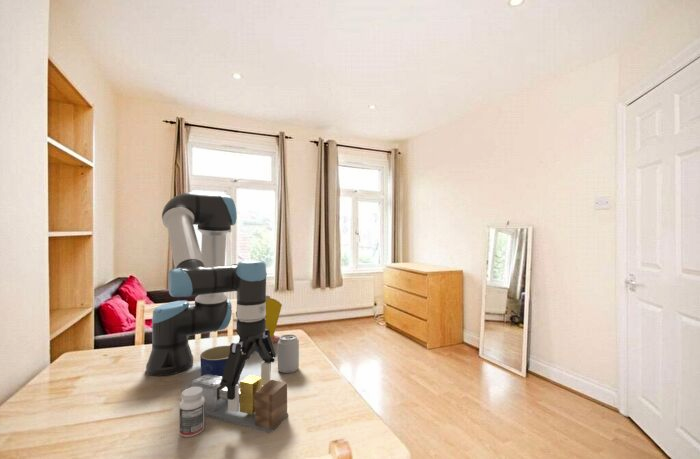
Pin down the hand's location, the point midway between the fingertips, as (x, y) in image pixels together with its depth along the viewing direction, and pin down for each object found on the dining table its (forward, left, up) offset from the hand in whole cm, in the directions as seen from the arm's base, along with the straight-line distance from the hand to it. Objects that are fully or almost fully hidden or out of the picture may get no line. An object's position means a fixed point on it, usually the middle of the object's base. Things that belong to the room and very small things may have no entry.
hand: (250, 397), depth 85 cm
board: (-4, 0, -5) cm, 7 cm away
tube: (-4, 0, -3) cm, 5 cm away
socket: (+7, 0, -5) cm, 9 cm away
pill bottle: (-10, -10, -5) cm, 15 cm away
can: (-6, +29, -5) cm, 30 cm away
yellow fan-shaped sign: (-32, +48, -5) cm, 58 cm away
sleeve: (-14, 0, -5) cm, 15 cm away
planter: (-20, +11, -5) cm, 23 cm away
